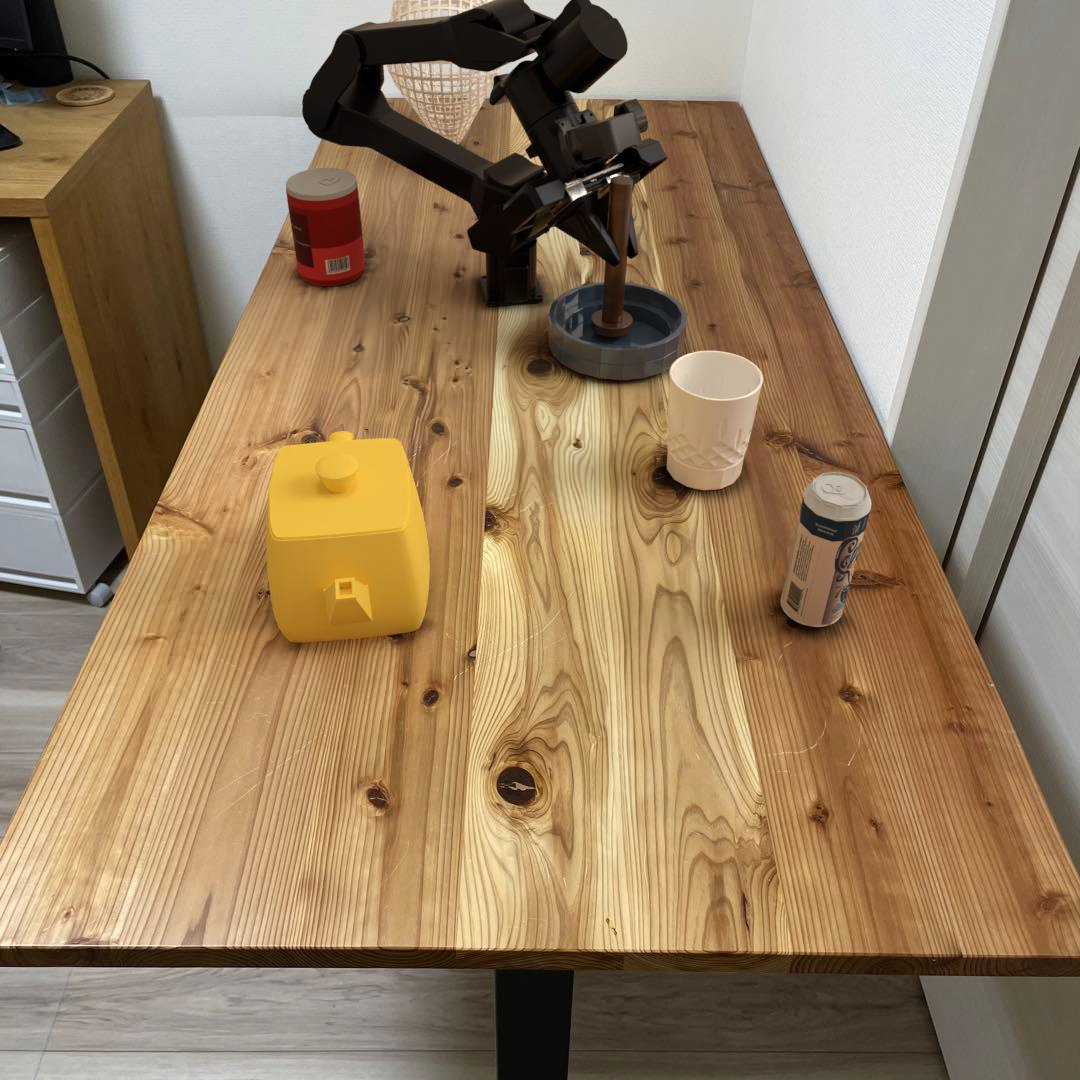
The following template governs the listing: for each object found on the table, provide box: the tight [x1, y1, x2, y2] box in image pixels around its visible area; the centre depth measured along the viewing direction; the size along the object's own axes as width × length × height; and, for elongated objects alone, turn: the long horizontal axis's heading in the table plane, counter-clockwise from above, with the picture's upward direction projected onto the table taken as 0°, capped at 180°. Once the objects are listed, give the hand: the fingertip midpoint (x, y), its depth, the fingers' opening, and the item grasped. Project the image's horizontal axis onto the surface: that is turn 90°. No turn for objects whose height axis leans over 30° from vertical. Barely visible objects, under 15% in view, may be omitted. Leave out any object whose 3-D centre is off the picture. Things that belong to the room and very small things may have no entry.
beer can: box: [780, 471, 872, 628], centre depth 79 cm, size 5×5×12 cm
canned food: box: [285, 167, 366, 287], centre depth 122 cm, size 8×8×11 cm
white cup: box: [665, 350, 764, 491], centre depth 94 cm, size 8×8×10 cm
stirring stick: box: [591, 176, 634, 337], centre depth 108 cm, size 4×4×16 cm
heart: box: [386, 0, 501, 145], centre depth 148 cm, size 28×16×22 cm, turn 2°
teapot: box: [265, 430, 431, 643], centre depth 81 cm, size 20×12×12 cm, turn 8°
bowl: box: [547, 281, 688, 381], centre depth 112 cm, size 14×14×4 cm
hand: (626, 260), depth 108 cm, fingers closed on stirring stick, 2 cm apart
